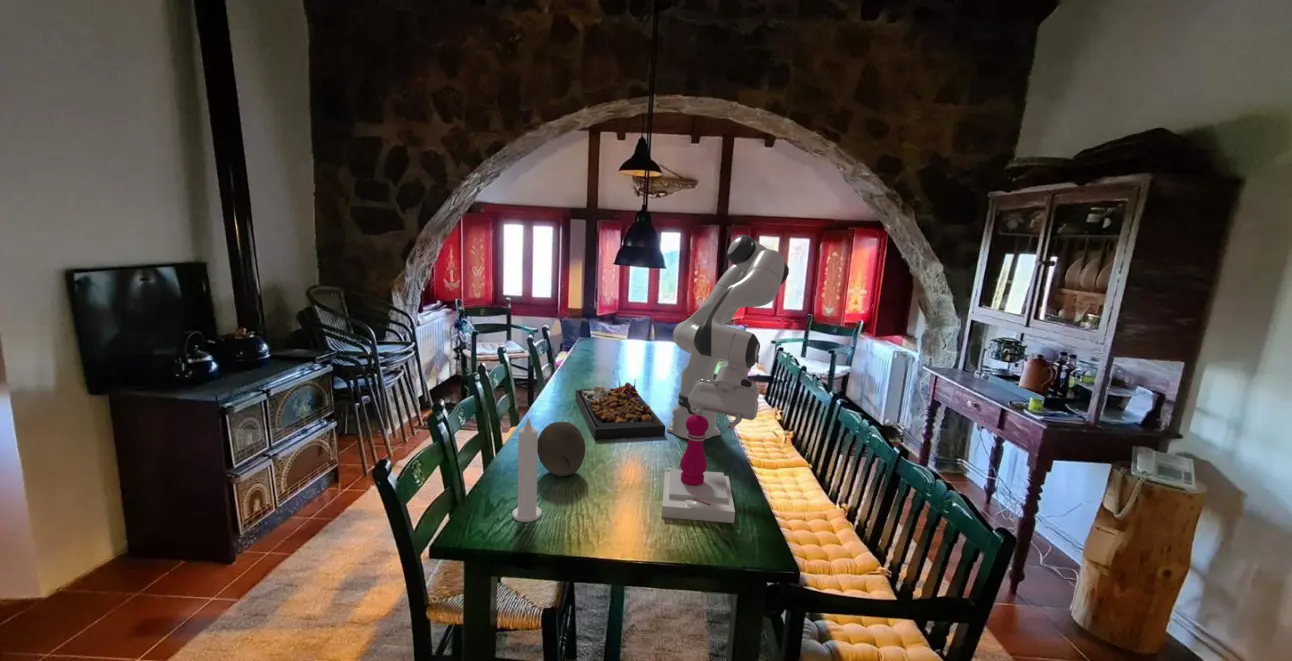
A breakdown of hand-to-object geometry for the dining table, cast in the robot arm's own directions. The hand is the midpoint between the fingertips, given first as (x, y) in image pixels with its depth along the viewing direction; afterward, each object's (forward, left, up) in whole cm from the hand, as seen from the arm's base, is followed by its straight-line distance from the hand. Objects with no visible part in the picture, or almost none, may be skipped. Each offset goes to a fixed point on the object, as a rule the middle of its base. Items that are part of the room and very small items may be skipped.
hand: (714, 425), depth 157 cm
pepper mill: (+9, -6, -13) cm, 17 cm away
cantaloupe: (+2, -43, -17) cm, 47 cm away
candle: (+26, -46, -17) cm, 56 cm away
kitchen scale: (+12, -4, -17) cm, 21 cm away
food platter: (-50, -33, -18) cm, 62 cm away
